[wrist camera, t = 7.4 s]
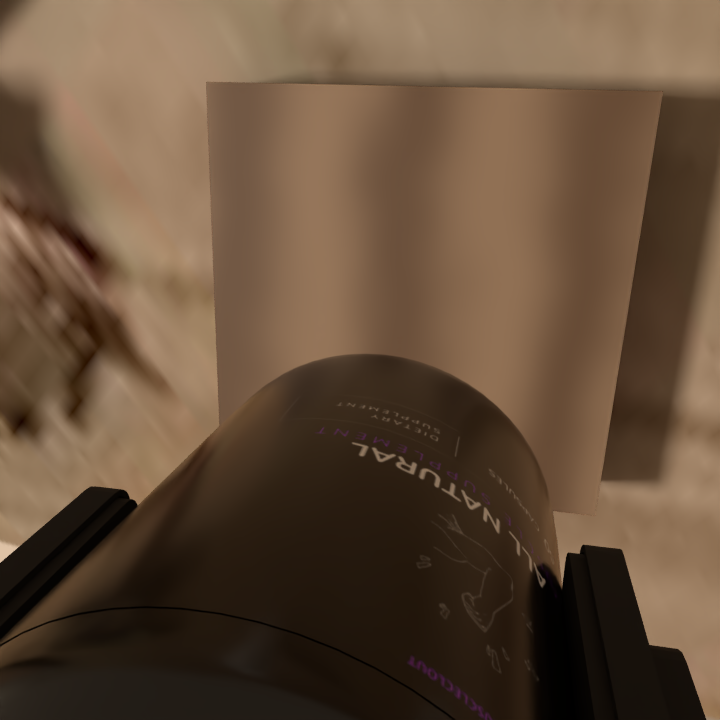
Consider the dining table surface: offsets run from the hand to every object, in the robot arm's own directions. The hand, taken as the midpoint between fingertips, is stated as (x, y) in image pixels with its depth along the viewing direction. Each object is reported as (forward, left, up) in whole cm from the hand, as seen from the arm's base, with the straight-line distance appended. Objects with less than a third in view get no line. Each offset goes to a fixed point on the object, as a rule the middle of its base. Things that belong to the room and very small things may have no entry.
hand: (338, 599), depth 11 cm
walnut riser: (+1, -1, -20) cm, 20 cm away
